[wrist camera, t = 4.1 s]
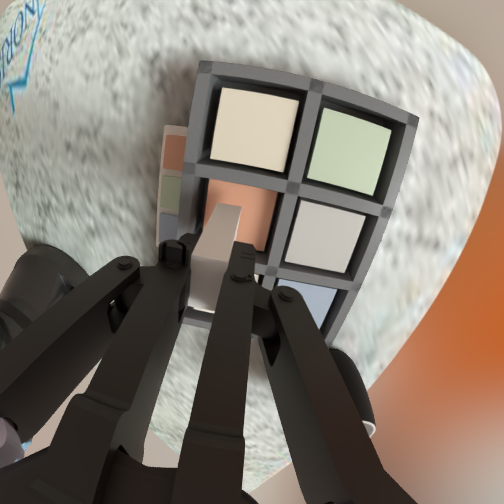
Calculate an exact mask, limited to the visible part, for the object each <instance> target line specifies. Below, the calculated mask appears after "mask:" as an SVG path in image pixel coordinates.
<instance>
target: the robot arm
mask: <svg viewBox="0 0 504 504" xmlns="http://www.w3.org/2000/svg"><path fill="white" fill-rule="evenodd" d="M241 208H242V207H240V206H234V205H229V204H223V203H217V205H216V207H215V209H214V211H213V213H212V215H211V217H210V219H209V220H208V222H207V224H206V226H205V228H204V230H203V232H202V234H201V235H197V234H192V233H186V234H184V235H182V236H181V237H180V238H179V240H174V239H171V240H165V241H162V242H161V243H160V244H159V261H158V263H157V265H156V266H149V267H147V266H140V262H139V261H138V259H136V258H134V257H131V256H121V257H117V258H115V259H113V260H112V261H110V262H109V263H108V264H106V265H105V266H103V267H102V268H101V269H99V270H98V271H97V272H95V273H94V274H93V275H91V276H90V277H89V276H88V275H87V273H86V272H85V271H84V270H83V269H82V268H81V267H80V266H79V265H78V264H77V263H76V262H75V261H74V260H73V259H71V258H70V257H69V256H67V255H66V254H65V253H63V252H61V251H60V250H58V249H56V248H53V247H51V246H47V245H37V246H34V247H32V248H30V249H29V250H28V251H27V252H26V253H24V254H23V255H22V256H21V257H20V258H19V259H18V260H17V262H16V264H15V267H14V269H13V271H12V273H11V274H10V276H9V278H8V280H7V282H6V283H5V285H4V287H3V289H2V291H1V293H0V504H258V503H257V501H256V500H254V499H253V498H252V497H251V496H250V495H249V494H248V493H246V492H245V491H244V490H242V479H243V467H244V454H245V439H244V437H243V427H244V415H245V404H246V392H247V380H248V367H249V355H250V343H251V333H252V334H255V335H257V336H258V342H259V345H260V349H261V353H262V356H263V360H264V364H265V367H266V371H267V374H268V378H269V382H270V385H271V389H272V392H273V396H274V400H275V403H276V407H277V410H278V414H279V417H280V421H281V424H282V428H283V431H284V434H285V438H286V441H287V445H288V448H289V452H290V455H291V458H292V462H293V465H294V468H295V472H296V475H297V478H298V481H299V485H300V488H301V491H302V494H303V496H304V499H305V501H306V503H307V504H417V503H416V502H415V501H414V500H413V499H412V498H411V497H410V496H409V495H408V494H407V493H406V492H405V491H404V490H403V489H402V488H401V487H400V486H399V485H398V483H397V482H396V481H395V480H394V479H393V478H392V477H390V475H389V474H387V472H386V471H385V470H384V469H383V466H382V464H381V462H380V459H379V457H378V455H377V453H376V450H375V448H374V446H373V444H372V441H371V439H370V437H369V435H368V432H367V430H366V428H365V426H364V423H363V421H362V419H361V417H360V415H359V413H358V410H357V408H356V406H355V404H354V402H353V400H352V397H351V395H350V393H349V391H348V389H347V387H346V385H345V382H344V380H343V378H342V376H341V374H340V372H339V370H338V368H337V366H336V364H335V361H334V359H333V357H332V355H331V353H330V351H329V349H328V347H327V345H326V343H325V341H324V339H323V337H322V335H321V333H320V331H319V329H318V327H317V325H316V323H315V320H314V318H313V316H312V314H311V312H310V310H309V308H308V306H307V304H306V302H305V300H304V298H303V296H302V295H301V294H300V292H299V291H297V290H296V289H294V288H292V287H289V286H283V285H282V286H276V287H274V288H273V289H272V291H271V290H268V289H266V288H264V287H262V286H260V285H259V284H258V283H257V282H256V281H255V276H254V272H255V259H256V248H255V247H254V245H253V244H249V243H244V242H238V241H236V236H237V230H238V225H239V219H240V214H241ZM113 300H114V302H113V303H111V302H112V301H113ZM187 300H188V306H191V307H196V308H201V309H206V310H211V311H215V312H214V316H213V320H212V325H211V329H210V333H209V337H208V341H207V345H206V350H205V354H204V358H203V362H202V367H201V371H200V375H199V380H198V384H197V389H196V393H195V398H194V402H193V407H192V411H191V416H190V420H189V424H188V427H187V429H186V432H185V435H184V439H183V444H182V448H181V453H180V458H179V463H178V468H161V467H148V466H145V465H143V464H142V461H143V454H144V441H145V437H146V434H147V430H148V427H149V424H150V420H151V417H152V413H153V410H154V407H155V404H156V400H157V397H158V394H159V391H160V387H161V384H162V381H163V378H164V375H165V372H166V369H167V366H168V363H169V360H170V357H171V354H172V351H173V348H174V345H175V342H176V339H177V336H178V333H179V330H180V327H181V324H182V322H183V319H184V316H185V312H186V303H187ZM110 303H111V304H110ZM102 357H103V358H102ZM101 358H102V360H101ZM100 360H101V362H100V364H99V366H98V368H97V370H96V372H95V374H94V376H93V378H92V380H91V382H90V384H89V386H88V388H87V390H86V391H85V392H84V393H83V394H76V395H75V396H73V398H72V399H71V400H70V402H69V404H68V406H67V408H66V410H65V412H64V414H63V416H62V419H61V421H60V423H59V426H58V428H57V430H56V432H55V435H54V437H53V439H52V442H51V444H50V446H48V447H46V448H44V449H42V450H40V451H38V452H36V453H34V454H32V455H29V456H28V457H25V458H23V457H24V452H25V450H26V448H27V446H28V445H30V444H31V442H32V438H33V436H34V435H35V434H36V433H37V432H38V431H39V430H40V429H41V428H42V427H43V426H44V425H45V423H46V422H47V421H48V420H49V419H50V417H51V416H52V415H53V414H54V413H55V411H56V410H57V409H58V408H59V407H60V405H61V404H62V403H63V402H64V401H65V399H66V398H67V397H68V396H69V395H70V394H71V393H72V391H73V390H74V389H75V388H76V387H77V386H78V384H79V383H80V382H81V381H82V380H83V379H84V378H85V376H86V375H87V374H88V373H89V372H90V371H91V370H92V369H93V367H94V366H95V365H96V364H97V363H98V362H99V361H100Z"/></svg>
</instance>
